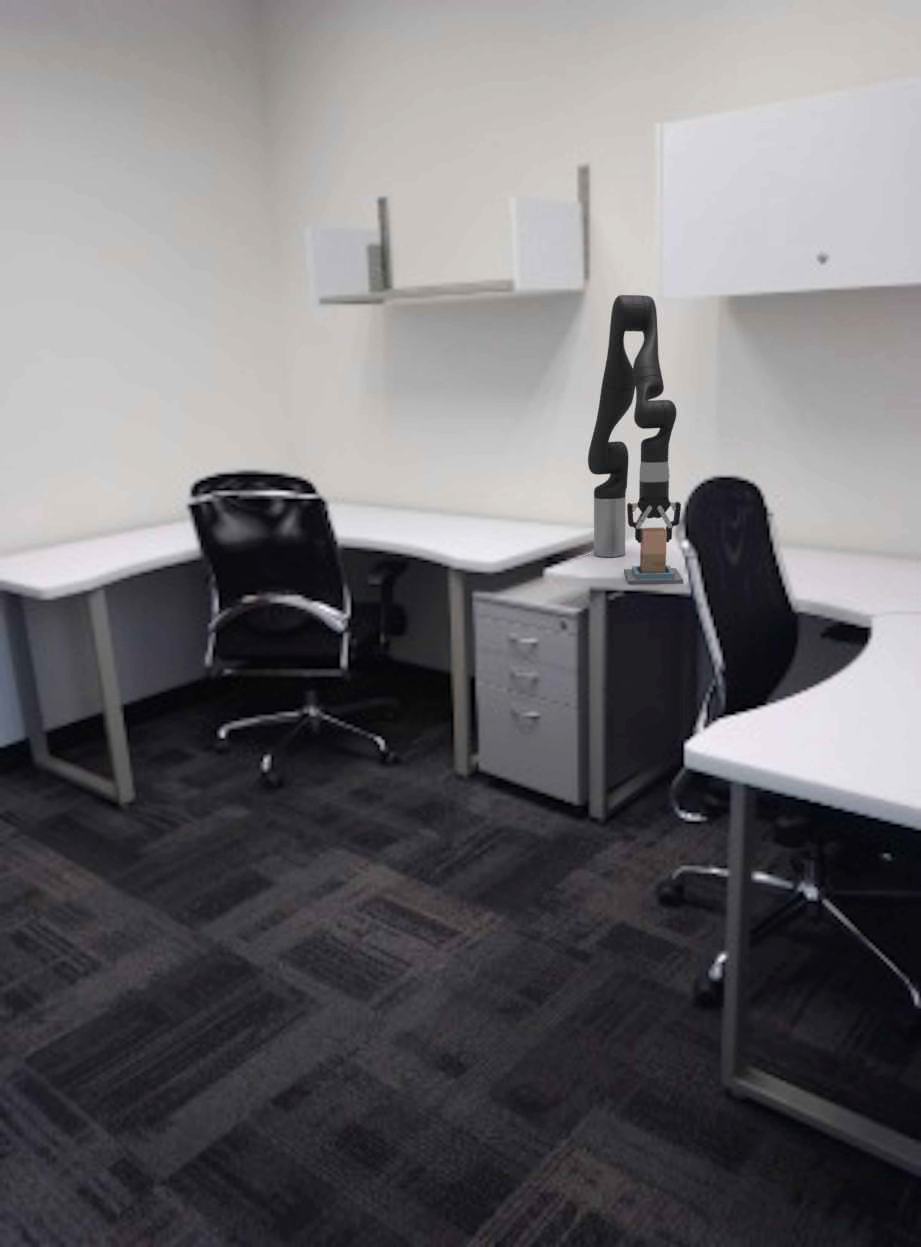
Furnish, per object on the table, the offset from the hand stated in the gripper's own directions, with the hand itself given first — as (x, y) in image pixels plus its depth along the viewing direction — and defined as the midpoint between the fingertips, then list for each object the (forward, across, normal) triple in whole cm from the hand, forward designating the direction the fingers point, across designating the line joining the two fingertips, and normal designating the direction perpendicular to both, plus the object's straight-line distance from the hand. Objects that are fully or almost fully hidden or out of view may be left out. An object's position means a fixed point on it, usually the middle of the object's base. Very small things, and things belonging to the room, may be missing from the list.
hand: (653, 541), depth 256 cm
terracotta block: (+3, 0, 0) cm, 3 cm away
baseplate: (+10, 0, 0) cm, 10 cm away
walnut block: (+9, 0, 0) cm, 9 cm away
